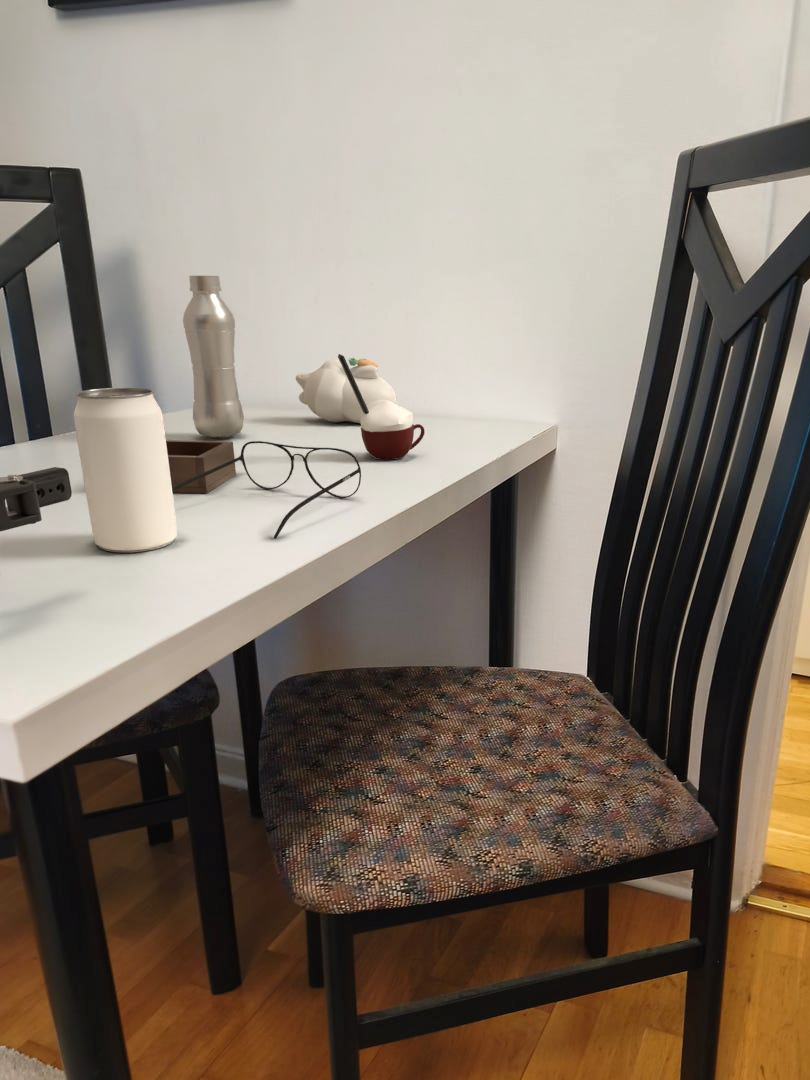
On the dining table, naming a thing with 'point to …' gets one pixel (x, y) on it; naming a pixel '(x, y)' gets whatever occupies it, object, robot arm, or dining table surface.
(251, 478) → the glasses
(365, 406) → the cocoa
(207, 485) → the tray
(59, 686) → the dining table surface
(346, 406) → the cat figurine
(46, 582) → the dining table surface
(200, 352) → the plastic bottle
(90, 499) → the can
